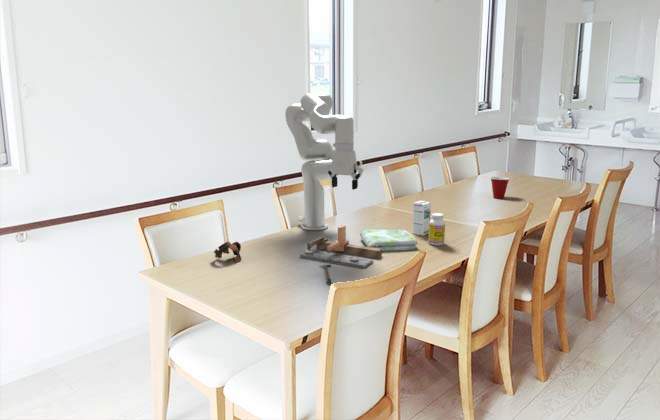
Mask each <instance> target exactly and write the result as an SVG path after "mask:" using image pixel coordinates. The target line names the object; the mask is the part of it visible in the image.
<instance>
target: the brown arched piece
mask: <svg viewBox="0 0 660 420" xmlns="http://www.w3.org/2000/svg"><path fill="white" fill-rule="evenodd" d="M241 248H242V245H241V244H240V242H239V241H234V242H232V243H231V242H230V241H226V242H224V243H222V244H221V245H219V246H218V247H217V248H215V249H214V251H213V253H214V254H215V255H214V257H215V258H218V259H219V258H220V259H221V258H223V256H222V255H223V254H227V255H228V254H230V250H231V251H232V253H233V255H234V256H235V257H234V260H235V263H239V262H240V261H241V260H242V257H241V253H240V252H241ZM229 249H230V250H229Z"/></svg>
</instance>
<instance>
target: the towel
mask: <svg viewBox="0 0 660 420" xmlns="http://www.w3.org/2000/svg"><path fill="white" fill-rule="evenodd" d="M359 236H360V238H361V240H362V241H363V243H364V244H365V245H366V246H365V247H372V248H379V249H382V252H384V251H385V252H389V251H411V250H416V248H417V245H418V244H419V243H418V241H417V239H416V238H415V237H414V236H413V235H412V234H411V233H410V232H409V231H407V230H405V229H402V228H401V229H379V228H368V229H367V228H366V229H363V230H361V231H360V233H359Z"/></svg>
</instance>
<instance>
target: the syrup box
mask: <svg viewBox="0 0 660 420" xmlns="http://www.w3.org/2000/svg"><path fill="white" fill-rule="evenodd" d="M431 204H432V203H431V202H430V201H426V200H419V201H416V202H413V203H412V234H414V235H417V236H425V235H429V222H430V220H431Z"/></svg>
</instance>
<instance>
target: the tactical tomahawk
mask: <svg viewBox="0 0 660 420" xmlns="http://www.w3.org/2000/svg"><path fill="white" fill-rule="evenodd" d="M318 268H319V269H323V270H324V274H325V281H326V282H325V283H326V284H327V285H329V284H330V285H331V284H332V280H331V277H330V272H329V268H332V264H326V265H323V266H319V267H318Z"/></svg>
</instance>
